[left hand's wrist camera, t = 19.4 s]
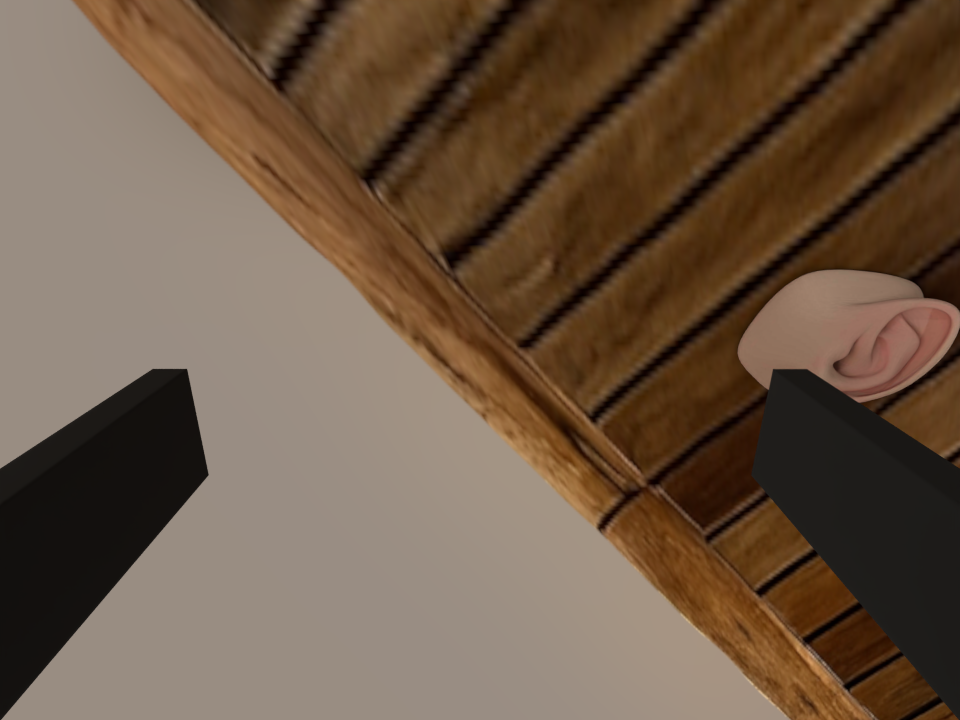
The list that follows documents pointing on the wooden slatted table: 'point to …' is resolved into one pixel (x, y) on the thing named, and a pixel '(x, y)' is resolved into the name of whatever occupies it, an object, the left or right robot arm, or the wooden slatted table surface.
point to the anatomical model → (850, 332)
